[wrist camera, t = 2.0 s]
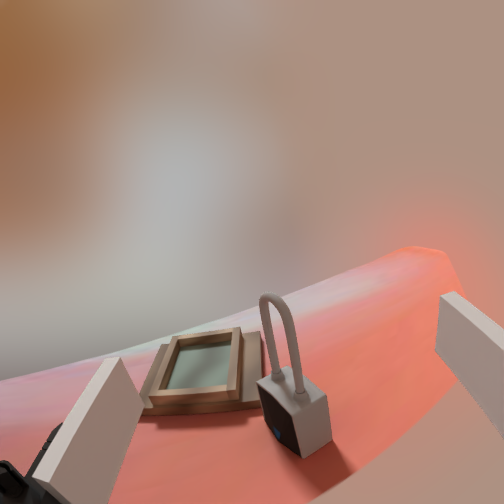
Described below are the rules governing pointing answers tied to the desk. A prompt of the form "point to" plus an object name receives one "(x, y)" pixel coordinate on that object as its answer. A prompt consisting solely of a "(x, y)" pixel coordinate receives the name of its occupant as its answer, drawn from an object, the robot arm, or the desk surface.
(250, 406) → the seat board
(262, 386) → the padlock
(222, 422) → the desk surface
